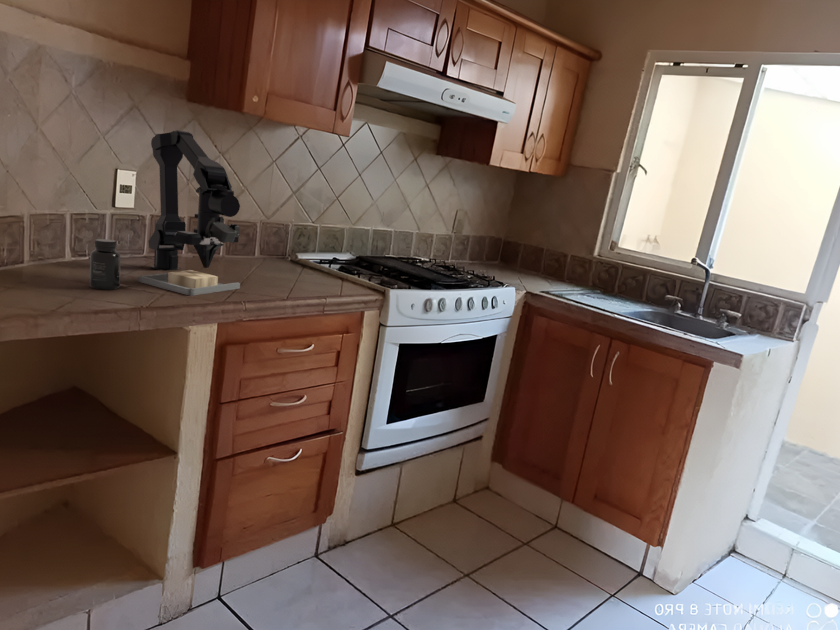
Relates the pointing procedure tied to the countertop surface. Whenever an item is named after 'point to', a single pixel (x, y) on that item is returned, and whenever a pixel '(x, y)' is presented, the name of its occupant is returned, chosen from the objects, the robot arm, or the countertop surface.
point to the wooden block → (192, 279)
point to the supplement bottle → (105, 265)
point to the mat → (162, 282)
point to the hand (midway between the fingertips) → (206, 267)
